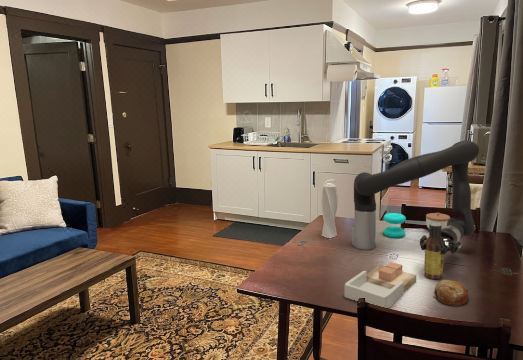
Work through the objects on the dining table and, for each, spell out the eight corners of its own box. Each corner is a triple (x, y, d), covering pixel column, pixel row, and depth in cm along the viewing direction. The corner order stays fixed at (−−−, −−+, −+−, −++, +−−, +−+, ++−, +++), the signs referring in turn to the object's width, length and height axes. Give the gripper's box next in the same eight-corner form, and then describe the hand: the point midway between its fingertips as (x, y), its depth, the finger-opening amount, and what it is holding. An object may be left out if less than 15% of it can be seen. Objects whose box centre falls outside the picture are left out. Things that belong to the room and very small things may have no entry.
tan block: (384, 273, 140) (385, 265, 140) (390, 269, 144) (390, 261, 143) (396, 276, 137) (397, 269, 137) (402, 272, 141) (402, 264, 140)
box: (343, 296, 130) (343, 284, 129) (363, 282, 140) (363, 270, 139) (384, 311, 120) (385, 298, 119) (403, 294, 130) (403, 282, 129)
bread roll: (432, 301, 132) (424, 282, 130) (459, 287, 132) (451, 268, 130) (449, 317, 122) (440, 297, 121) (478, 302, 122) (469, 282, 121)
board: (364, 282, 140) (364, 275, 139) (379, 271, 148) (379, 265, 148) (402, 294, 130) (402, 287, 130) (416, 281, 139) (416, 275, 138)
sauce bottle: (444, 280, 139) (447, 227, 135) (425, 279, 140) (428, 227, 136) (439, 272, 145) (443, 222, 141) (422, 271, 146) (424, 221, 142)
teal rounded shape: (381, 212, 190) (401, 212, 190) (380, 232, 192) (400, 231, 192) (387, 218, 180) (409, 218, 180) (386, 238, 182) (408, 238, 182)
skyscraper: (328, 233, 193) (328, 178, 187) (340, 236, 187) (341, 180, 182) (318, 237, 188) (318, 180, 182) (330, 240, 182) (330, 182, 177)
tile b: (378, 278, 137) (378, 270, 136) (384, 273, 140) (384, 266, 140) (390, 281, 134) (391, 273, 133) (396, 277, 137) (396, 269, 137)
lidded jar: (449, 228, 193) (450, 210, 191) (449, 235, 184) (450, 216, 182) (425, 226, 198) (426, 209, 196) (424, 233, 188) (425, 214, 186)
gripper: (429, 224, 155) (412, 235, 143) (468, 231, 145) (454, 244, 133) (428, 242, 156) (411, 255, 144) (466, 250, 147) (452, 264, 135)
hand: (432, 249), depth 139 cm, fingers closed on sauce bottle, 6 cm apart
